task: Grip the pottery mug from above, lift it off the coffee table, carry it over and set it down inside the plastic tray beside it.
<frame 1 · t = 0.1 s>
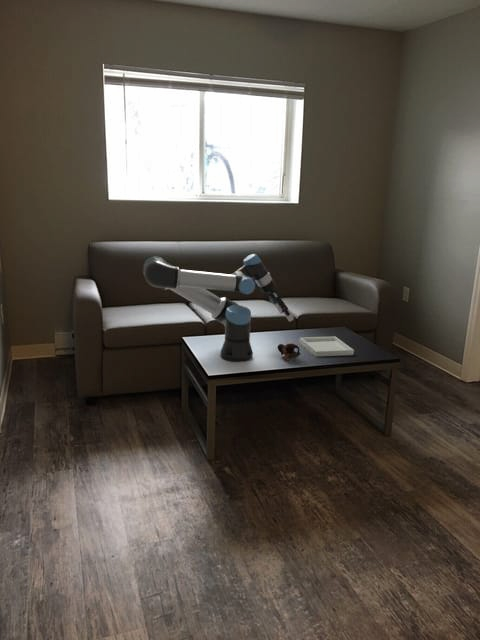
hand: (287, 316, 257), 15 cm above the table, tool tilted 35°, fingers open, 13 cm apart
parts tray: (325, 348, 259), on the table
pottery mug: (288, 358, 243), on the table
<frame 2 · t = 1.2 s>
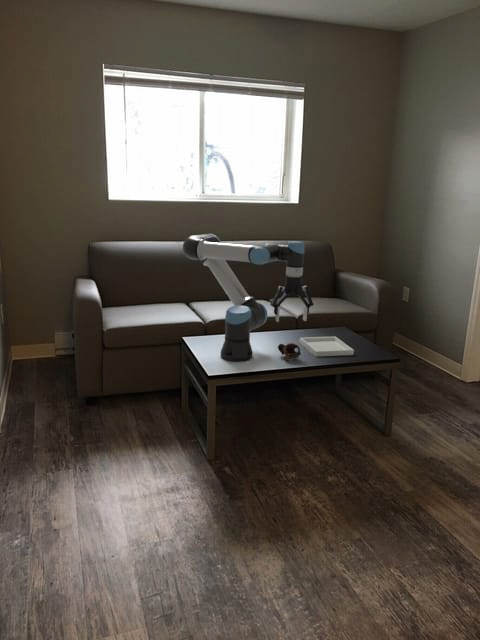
hand: (290, 320, 238), 18 cm above the table, tool pointing down, fingers open, 13 cm apart
nothing on the table moved.
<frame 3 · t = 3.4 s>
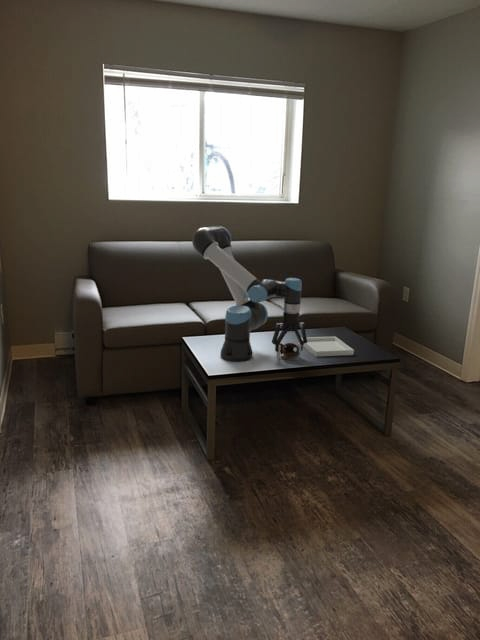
hand: (288, 357, 243), 0 cm above the table, tool pointing down, fingers open, 9 cm apart
pottery mug: (287, 357, 244), on the table, touching gripper
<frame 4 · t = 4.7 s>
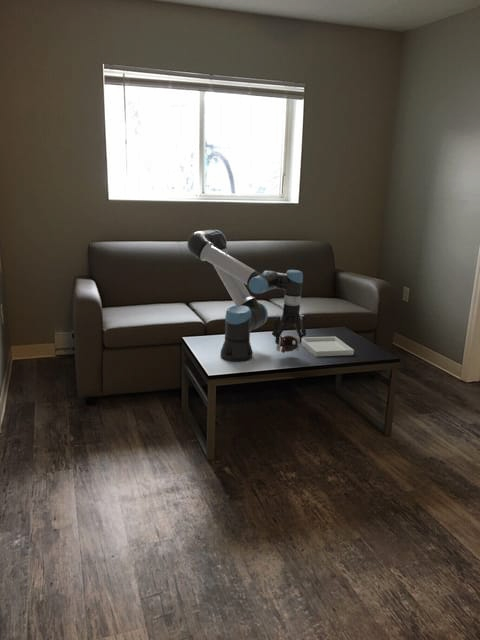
hand: (287, 350, 242), 4 cm above the table, tool pointing down, fingers closed on pottery mug, 9 cm apart
pottery mug: (285, 350, 243), point 3 cm above the table, touching gripper
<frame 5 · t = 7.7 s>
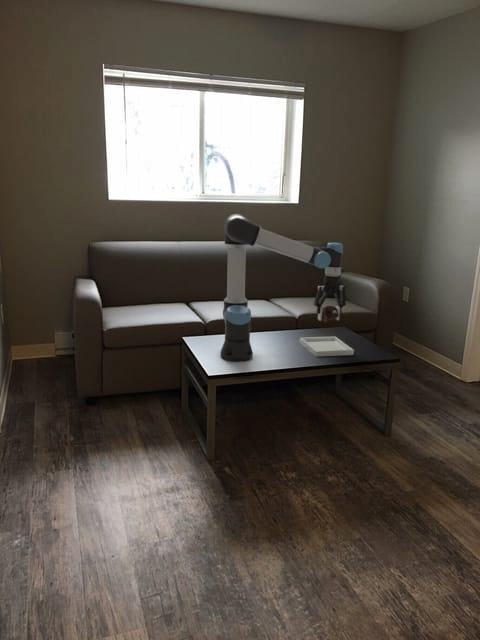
hand: (328, 319, 255), 15 cm above the table, tool pointing down, fingers closed on pottery mug, 9 cm apart
pottery mug: (326, 320, 256), point 15 cm above the table, touching gripper
when the fingers open (2 cm above the table, at t = 10.8 s): pottery mug drops 1 cm, resting on parts tray.
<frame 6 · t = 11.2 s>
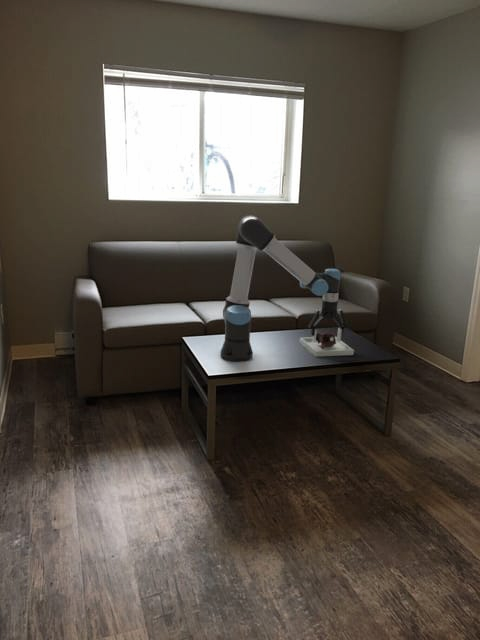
hand: (326, 341, 258), 4 cm above the table, tool pointing down, fingers open, 13 cm apart
pottery mug: (324, 346, 260), point 1 cm above the table, touching parts tray
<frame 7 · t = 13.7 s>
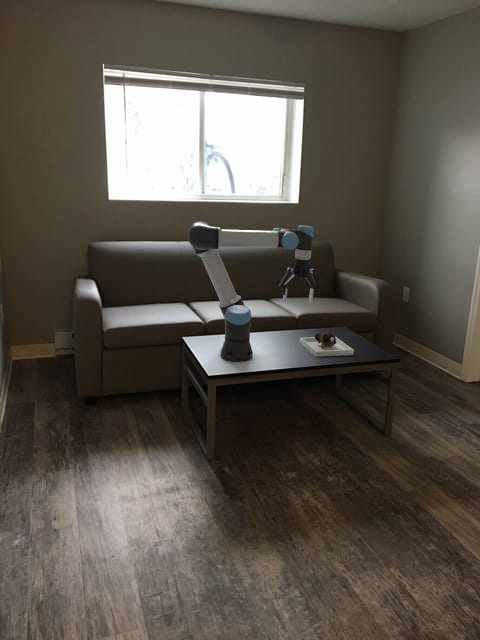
hand: (297, 301, 251), 24 cm above the table, tool pointing down, fingers open, 13 cm apart
nothing on the table moved.
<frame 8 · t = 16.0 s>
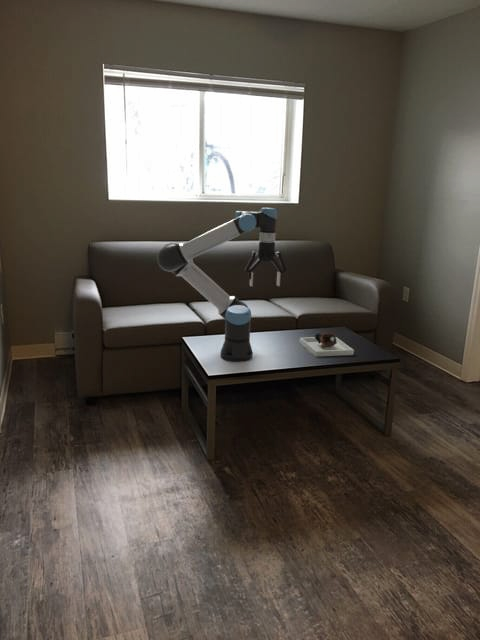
hand: (264, 285, 246), 32 cm above the table, tool pointing down, fingers open, 13 cm apart
nothing on the table moved.
at the end: pottery mug inside the target area on the parts tray (0.8 cm from its centre), point 0.6 cm above the parts tray's base; pottery mug tilted 2°; the gripper is holding nothing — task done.
